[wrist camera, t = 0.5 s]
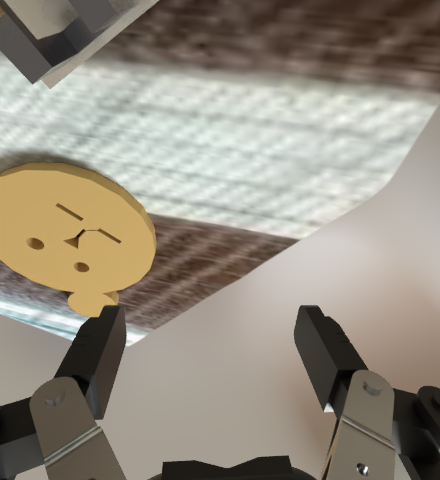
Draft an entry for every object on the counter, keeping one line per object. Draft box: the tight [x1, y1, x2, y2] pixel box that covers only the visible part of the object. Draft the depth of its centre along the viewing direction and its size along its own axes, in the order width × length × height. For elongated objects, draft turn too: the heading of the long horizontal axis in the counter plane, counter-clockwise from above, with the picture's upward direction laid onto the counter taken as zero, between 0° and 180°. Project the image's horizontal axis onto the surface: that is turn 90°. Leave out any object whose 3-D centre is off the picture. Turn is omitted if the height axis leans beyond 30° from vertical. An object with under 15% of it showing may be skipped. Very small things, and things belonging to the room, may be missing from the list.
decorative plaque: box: [0, 162, 157, 317], centre depth 46 cm, size 31×3×30 cm
